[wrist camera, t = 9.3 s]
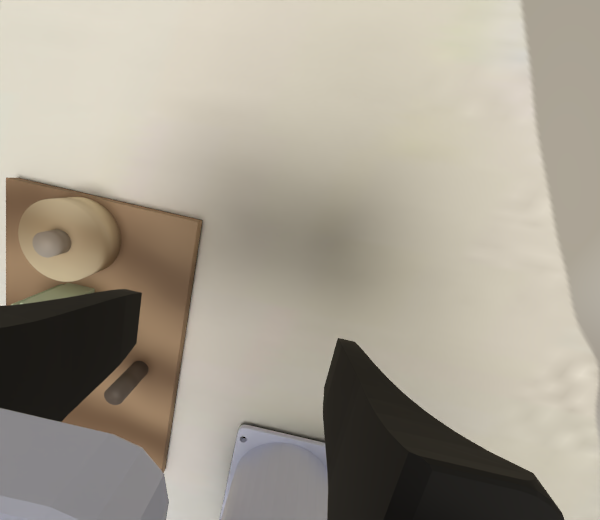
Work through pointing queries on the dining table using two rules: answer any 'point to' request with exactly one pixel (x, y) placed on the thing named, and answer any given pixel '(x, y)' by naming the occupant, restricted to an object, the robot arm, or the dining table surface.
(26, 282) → the gear board
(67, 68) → the dining table surface
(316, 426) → the dining table surface
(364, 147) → the dining table surface
